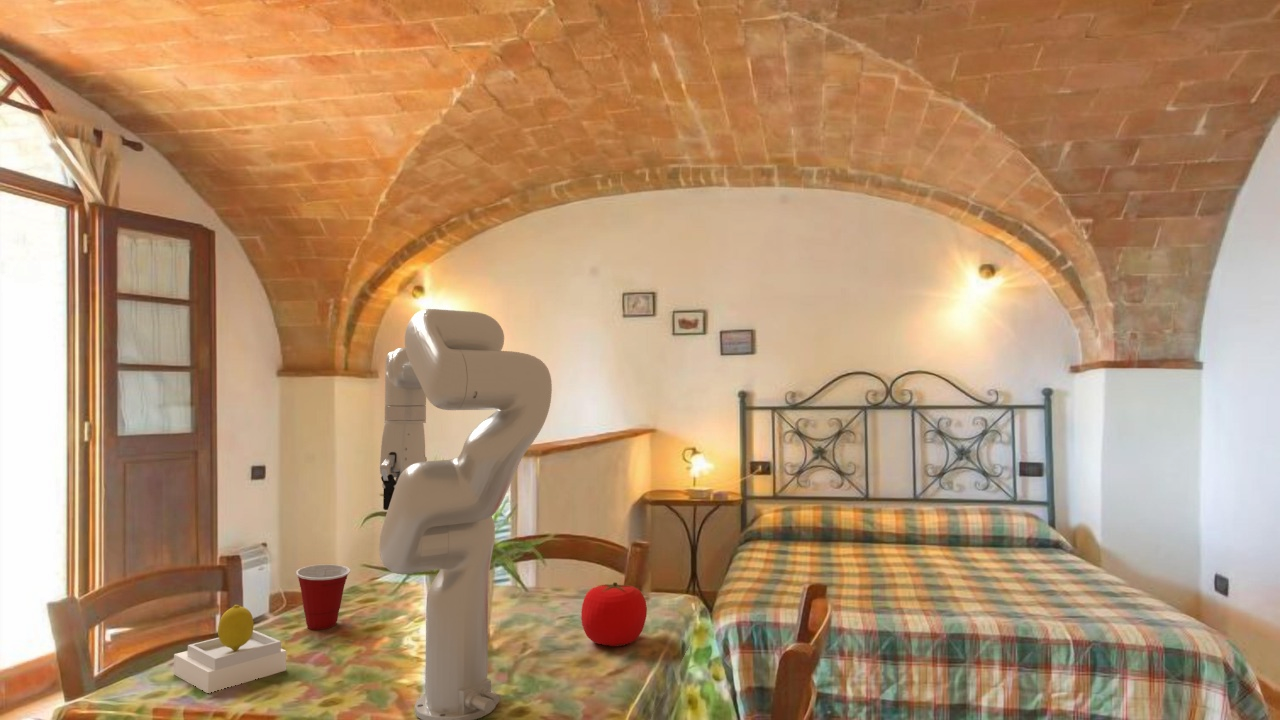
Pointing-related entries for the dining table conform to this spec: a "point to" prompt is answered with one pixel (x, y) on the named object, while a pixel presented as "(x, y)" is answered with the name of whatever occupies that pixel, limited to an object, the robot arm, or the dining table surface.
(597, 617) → the tomato
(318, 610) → the plastic cup
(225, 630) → the lemon
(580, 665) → the dining table surface
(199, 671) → the scale
